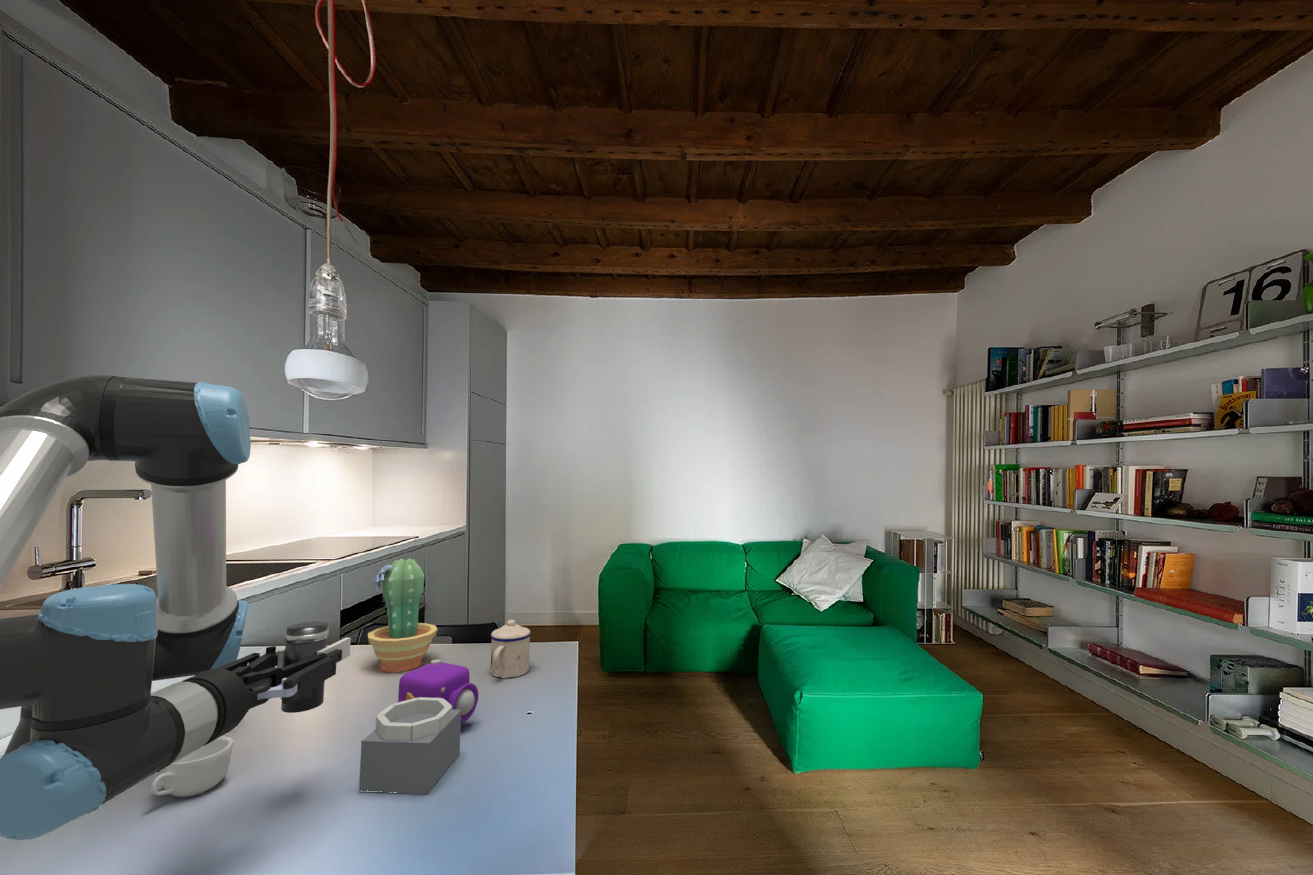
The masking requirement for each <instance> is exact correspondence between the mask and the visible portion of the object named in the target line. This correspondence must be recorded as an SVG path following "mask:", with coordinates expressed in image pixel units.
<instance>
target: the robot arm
mask: <svg viewBox="0 0 1313 875" xmlns="http://www.w3.org/2000/svg"><path fill="white" fill-rule="evenodd" d="M250 426H251V424H250V416H249V411H248V407H247V403H246V400H245V398H244V395H243V394H242V393H241V392H240V391H239V390H238V389H237V388H235V387H233V386H230V385H222V384H213V383H208V382H204V381H198V382H195V381H194V382H191V381H181V380H179V381H178V380H177V381H176V380H167V379H166V380H165V379H154V378H143V377H141V378H140V377H128V376H127V377H126V376H117V375H112V374H111V375H106V374H92V375H81V376H80V375H79V376H76V377H75V376H74V377H70V378H66V379H61V380H58V381H54V382H51V383H48V384H45V385H42V386H39V387H37V388H34V389H32V390H30V391H28V392H26V393H22V394H20V395H19V396H17V397H16V398H13V399H12V400H10V401H9V402H7V403H4V404H3V405H1V406H0V589H1V588H2V586H3V585H4V583H5V581H6V579H7V578H8V577H9V575H10V572H11V571H12V569H13V568H14V567H15V564H16V563H17V560H18V559H19V557H20V556H21V555H22V552H23V550H24V549H25V547H26V546H27V543H28V542H29V540H30V539H31V537H32V536H33V533H34V532H35V530H36V528H37V527H38V525H39V524H40V522H41V520H42V518H43V517H44V515H45V513H46V512H47V510H48V508H49V507H50V504H51V503H52V501H53V500H54V498H55V496H56V494H57V492H58V490H59V489H60V488H61V486H62V485H63V482H64V481H65V479H66V478H68V477H71V476H73V475H75V474H76V473H78V472H80V471H81V470H82V469H83V468H84V467H85V466H86V464H87V462H93V461H95V462H96V461H110V462H111V461H113V462H115V461H116V462H119V461H120V462H134V468H135V474H136V476H137V477H138V478H139V479H140V480H141V481H143V482H145V483H147V484H149V485H150V487H151V488H150V489H151V502H152V503H151V505H152V518H153V520H152V522H153V523H152V524H153V538H154V552H155V565H156V567H155V569H156V582H157V583H156V586H157V594H156V592H155V591H154V590H153V589H152V588H150V587H149V586H146V585H142V584H136V583H135V584H134V583H122V584H118V583H117V584H115V583H114V584H105V585H104V584H102V585H96V586H95V585H94V586H90V587H79V588H72V589H68V590H63V591H59V592H56V593H54V594H52V595H50V596H48V597H47V598H46V599H45V600H44V601H43V604H42V606H41V608H40V609H41V610H40V611H39V612H38V614H34V615H33V614H31V615H24V616H15V617H7V618H0V710H5V709H13V708H18V707H20V716H19V721H18V724H17V726H16V729H15V730H14V732H13V734H12V736H11V738H10V741H9V743H8V745H7V747H6V749H5V752H4V754H3V755H2V756H1V757H0V837H3V838H5V839H10V840H18V841H25V840H26V841H27V840H33V839H37V838H39V837H42V836H45V835H47V834H49V833H51V832H53V831H55V830H57V829H59V828H61V827H62V826H65V825H66V824H68V823H71V822H73V821H75V820H77V819H78V818H81V817H82V816H85V815H87V814H91V813H93V812H94V811H96V810H98V809H99V808H100V807H101V806H103V805H104V804H105V803H107V802H108V801H110V800H112V799H114V798H116V797H117V796H119V795H120V794H122V793H123V792H125V791H127V790H128V789H130V788H132V787H134V786H135V785H138V784H139V783H140V782H142V781H144V780H145V779H148V778H149V777H150V776H153V775H155V774H157V773H159V772H161V773H162V771H163V770H165V769H166V767H167V766H169V765H171V764H172V763H174V762H176V761H178V760H179V759H181V758H183V757H185V756H186V755H188V754H190V753H192V752H194V751H195V750H197V749H199V748H201V747H202V746H205V745H207V744H209V743H210V742H212V741H214V740H216V739H217V738H219V737H221V736H225V735H226V734H228V733H230V732H231V731H233V730H234V729H235V728H236V727H237V726H239V725H240V723H241V722H242V720H243V719H244V718H245V717H246V715H247V714H248V712H249V711H250V710H251V709H254V708H255V707H259V706H261V705H264V704H266V703H268V701H269V700H270V699H276V698H280V700H281V704H282V703H283V704H288V703H291V702H293V701H294V700H295V699H296V698H297V697H298V696H299V695H300V694H302V693H304V692H306V691H307V690H309V689H311V688H313V687H314V686H316V685H318V684H320V683H321V682H323V681H325V682H326V681H327V680H328V679H330V678H332V677H333V676H335V675H337V663H339V662H341V661H344V659H346V658H349V657H350V656H351V641H352V640H351V639H352V638H351V637H344V638H342V639H340V640H338V641H336V642H334V643H332V644H330V645H327V647H326V648H324V649H322V650H319V651H317V655H316V656H313V657H310V658H307V659H304V660H302V661H299V662H296V663H293V664H290V665H288V666H285V667H284V661H285V647H283V648H281V649H278V650H277V646H276V645H274V646H273V645H272V646H267V647H266V648H265V653H264V654H263V655H261V653H260V652H252V653H250V654H248V655H245V656H243V657H241V658H239V654H240V649H241V645H242V639H243V635H244V634H243V633H244V630H245V626H246V621H247V620H246V619H247V615H248V614H247V613H248V607H249V604H248V602H247V601H246V600H241V599H238V597H237V594H236V592H235V591H234V590H233V589H232V588H230V587H229V586H227V491H226V490H227V480H228V479H230V478H232V477H233V476H234V475H235V474H236V473H237V472H238V469H239V465H240V464H241V465H242V464H243V463H247V462H248V461H249V459H250V456H251V441H252V440H251V427H250ZM184 677H185V679H183V680H181V681H179V682H174V683H172V684H169V685H168V686H165V687H163V688H160V689H159V690H156V691H153V692H152V685H153V684H152V683H153V682H155V681H163V680H169V679H177V678H184ZM186 677H188V678H186Z"/></svg>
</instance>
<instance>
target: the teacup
mask: <svg viewBox="0 0 1313 875" xmlns="http://www.w3.org/2000/svg"><path fill="white" fill-rule="evenodd" d="M233 745H234V741H233V738H231V737H230V736H225V735H223V736H221V737H219V738H217V739H216V740H214V741H212V742H210V743H209V744H207V745H205V746H202V747H201V748H199V749H197V750H195V751H194V752H192V753H190V754H188V755H186V756H185V757H183V758H181V759H179V760H178V761H176V762H174V763H172V764H171V765H169V766H167V767H166V769H165V770H163V771H162V772H161V774H159V775H158V776H157V777H155V779H154V780H153V781H152V783H151V786H150V793H151V794H152V795H155V796H165V795H168V794H169V795H170V796H174V797H177V796H178V797H177V798H188V797H189V796H190V797H194V796H197V794H198V795H200V794H203V793H205V791H206V792H208V791H210V790H211V789H213V788H214V787H215V786H216V785H217V784H219V783H220V782H221V781H222V779H224V777H225V776H226V775H227V773H228V771H229V768H230V764H231V762H230V761H231V756H232V752H233V748H234V747H233ZM161 780H162V785H163V787H164V789H163V790H161V791H158V790H157V785H158V783H159V782H160V781H161ZM212 787H213V788H212ZM209 789H210V790H209ZM207 790H208V791H207ZM193 795H194V796H193Z"/></svg>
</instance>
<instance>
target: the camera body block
mask: <svg viewBox="0 0 1313 875" xmlns="http://www.w3.org/2000/svg"><path fill="white" fill-rule="evenodd" d="M461 726H462V722H461V710H452V705H451V704H450V703H448V702H447V701H446V700H445V699H443V698H426V697H419V698H413V699H410V700H406V701H402V702H398V701H397V702H395V703H392V704H389V705H388V706H386V708H383V710H381V711H380V712H379V713H378V714H377V715H376V717H375V729H374V730H373V731H372V732H371V733H369V734H368V735H366V736H365V737H364V738H363V739H362V740H361V741H360V742H361V743H360V764H359V783H358V791H359V790H360V791H361V790H362V791H367V790H368V791H377V792H378V791H379V792H380V791H382V792H392V793H391V794H394V793H393V792H397V793H396V794H400V793H405V794H406V795H407V794H408V795H428V794H429V793H430V791H431V790H432V789H433V788H434V787H435V786H436V784H437V783H438V782H439V781H440V779H441V778H442V777H443V776H444V774H446V772H447V771H448V770H449V768H450V767H451V766H452V765H453V763H454V762H455V761H456V760H457V758H458V757H459V756H460V754H461V728H462V727H461ZM455 759H456V760H455ZM451 764H452V765H451ZM447 769H448V770H447ZM442 775H443V776H442ZM438 780H439V781H438ZM437 781H438V782H437ZM405 794H404V795H405Z"/></svg>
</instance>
